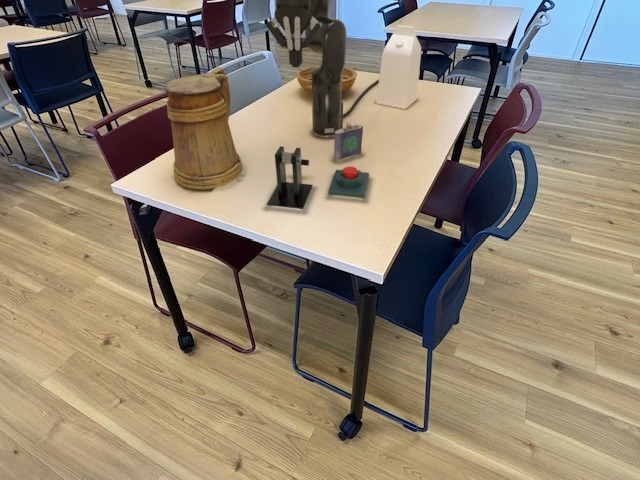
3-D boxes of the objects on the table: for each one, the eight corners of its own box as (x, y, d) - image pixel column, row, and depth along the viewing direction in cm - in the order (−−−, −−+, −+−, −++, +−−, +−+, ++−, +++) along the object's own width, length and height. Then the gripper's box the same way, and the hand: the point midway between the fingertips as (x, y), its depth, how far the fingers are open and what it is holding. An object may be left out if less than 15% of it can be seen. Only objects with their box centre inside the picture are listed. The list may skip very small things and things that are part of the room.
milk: (416, 99, 149) (427, 25, 133) (404, 109, 142) (415, 31, 125) (388, 94, 154) (395, 21, 138) (375, 103, 147) (382, 27, 130)
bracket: (279, 185, 100) (275, 139, 92) (313, 188, 99) (312, 142, 90) (267, 208, 92) (261, 160, 84) (303, 212, 90) (301, 164, 82)
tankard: (161, 184, 100) (131, 88, 85) (210, 147, 118) (192, 61, 102) (220, 197, 96) (200, 97, 80) (262, 156, 113) (252, 67, 97)
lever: (287, 165, 99) (288, 156, 99) (308, 167, 98) (309, 158, 98) (274, 161, 87) (275, 151, 87) (298, 164, 86) (299, 153, 86)
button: (344, 171, 98) (344, 165, 97) (357, 173, 97) (358, 167, 96) (341, 178, 95) (342, 172, 94) (356, 180, 95) (356, 174, 94)
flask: (336, 163, 109) (337, 127, 102) (331, 159, 111) (331, 124, 104) (362, 155, 113) (365, 120, 106) (357, 152, 114) (359, 117, 108)
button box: (335, 176, 103) (336, 162, 101) (368, 179, 102) (369, 165, 99) (328, 197, 95) (328, 183, 93) (364, 201, 94) (365, 187, 91)
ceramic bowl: (343, 109, 141) (344, 87, 136) (284, 102, 148) (283, 80, 143) (364, 85, 163) (365, 65, 158) (312, 80, 169) (311, 60, 164)
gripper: (326, -23, 81) (326, 63, 92) (267, -24, 83) (273, 61, 94) (319, -20, 75) (320, 72, 86) (256, -21, 77) (264, 69, 88)
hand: (296, 66), depth 90 cm, fingers closed
